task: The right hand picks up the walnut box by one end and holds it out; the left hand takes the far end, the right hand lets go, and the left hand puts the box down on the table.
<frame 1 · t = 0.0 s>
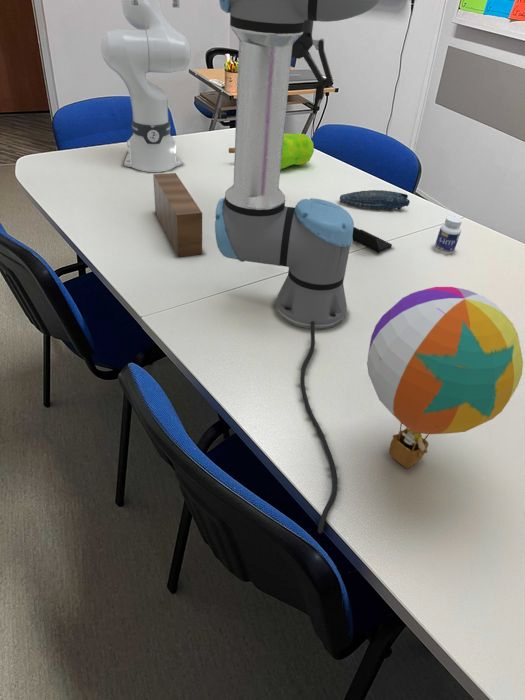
left hand: (155, 6, 121), 48 cm above the table, tool pointing down, fingers open, 8 cm apart
right hand: (288, 109, 135), 28 cm above the table, tool pointing down, fingers open, 13 cm apart
box: (177, 232, 137), on the table
toy: (404, 458, 82), on the table
decorative tree: (270, 165, 182), on the table
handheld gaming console: (365, 245, 139), on the table
fish model: (372, 206, 160), on the table
pill bottle: (443, 250, 140), on the table
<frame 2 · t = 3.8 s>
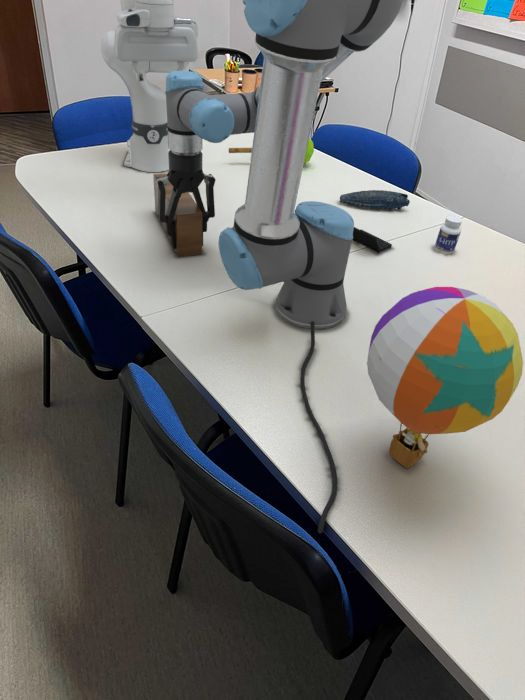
left hand: (158, 80, 132), 32 cm above the table, tool pointing down, fingers open, 8 cm apart
right hand: (187, 244, 129), 1 cm above the table, tool pointing down, fingers closed on box, 6 cm apart
box: (177, 232, 137), on the table, touching right hand
everything else where it was.
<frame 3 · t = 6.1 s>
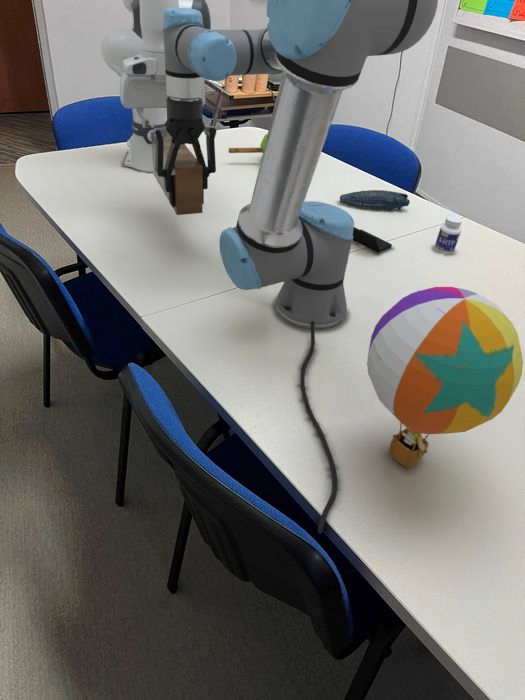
left hand: (164, 126, 129), 24 cm above the table, tool pointing down, fingers open, 8 cm apart
right hand: (186, 203, 122), 12 cm above the table, tool pointing down, fingers closed on box, 6 cm apart
box: (176, 192, 130), point 11 cm above the table, touching right hand
everything else where it was.
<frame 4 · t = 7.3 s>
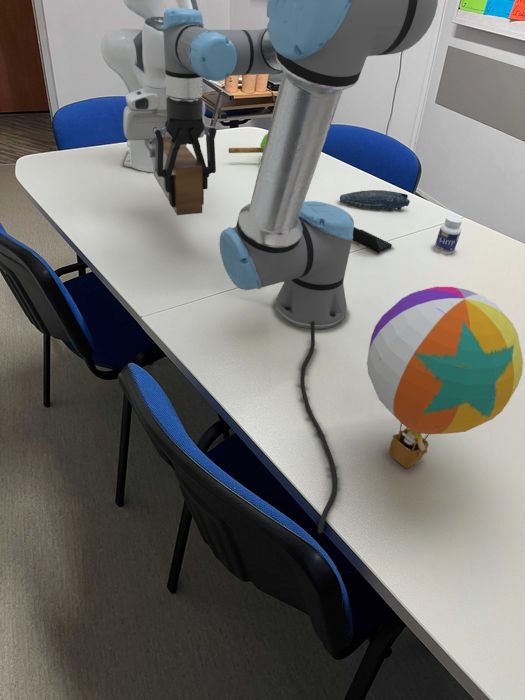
left hand: (166, 155, 134), 17 cm above the table, tool pointing down, fingers closed on box, 6 cm apart
right hand: (186, 203, 122), 12 cm above the table, tool pointing down, fingers closed on box, 6 cm apart
box: (176, 192, 130), point 11 cm above the table, touching right hand, left hand
everything else where it was.
when the right hand's fingers open (12 cm above the table, at t = 8.4 s): box stays where it is, held by the left hand.
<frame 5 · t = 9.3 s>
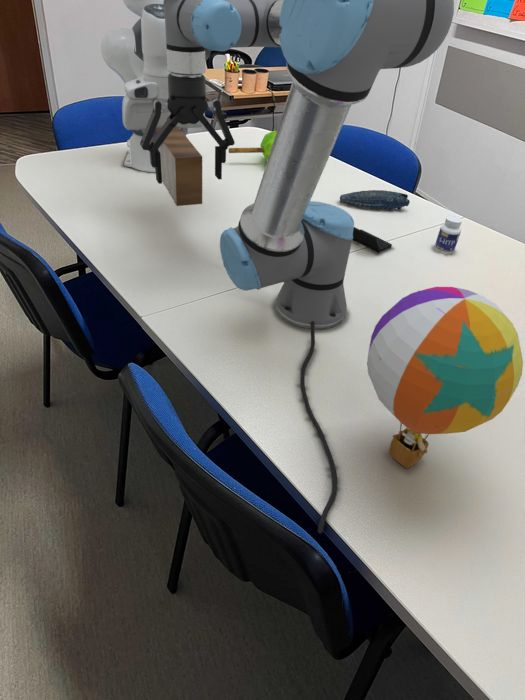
left hand: (165, 146, 132), 19 cm above the table, tool pointing down, fingers closed on box, 6 cm apart
right hand: (189, 179, 116), 19 cm above the table, tool pointing down, fingers open, 13 cm apart
box: (175, 183, 129), point 13 cm above the table, touching left hand
everything else where it was.
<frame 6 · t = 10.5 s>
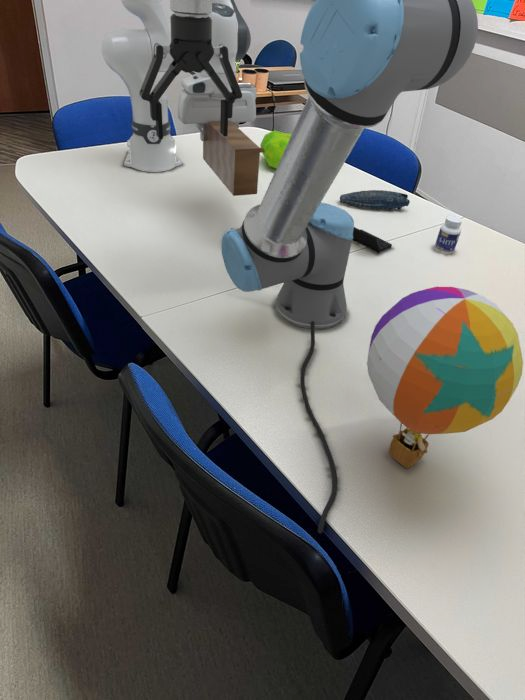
left hand: (217, 139, 138), 20 cm above the table, tool pointing down, fingers closed on box, 6 cm apart
right hand: (192, 135, 107), 29 cm above the table, tool pointing down, fingers open, 13 cm apart
box: (228, 175, 134), point 14 cm above the table, touching left hand
everything else where it was.
when the left hand's fingers open (7 cm above the table, at t = 14.0 s): box stays where it is, on the table.
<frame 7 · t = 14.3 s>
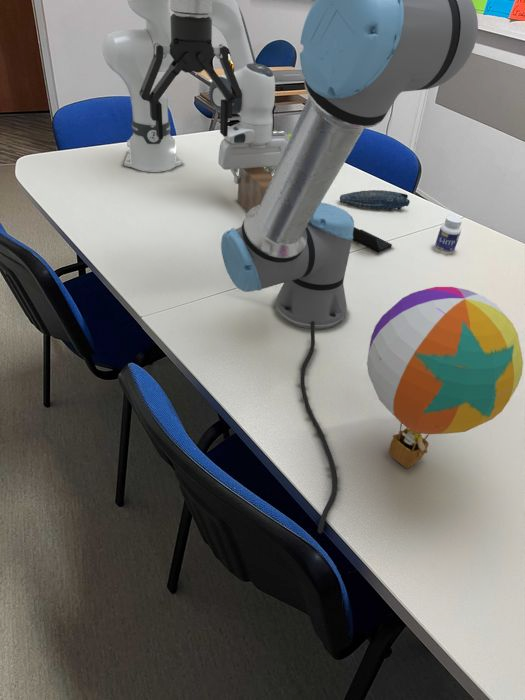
left hand: (252, 181, 150), 7 cm above the table, tool pointing down, fingers open, 8 cm apart
right hand: (192, 135, 107), 29 cm above the table, tool pointing down, fingers open, 13 cm apart
box: (263, 218, 148), on the table
everything else where it was.
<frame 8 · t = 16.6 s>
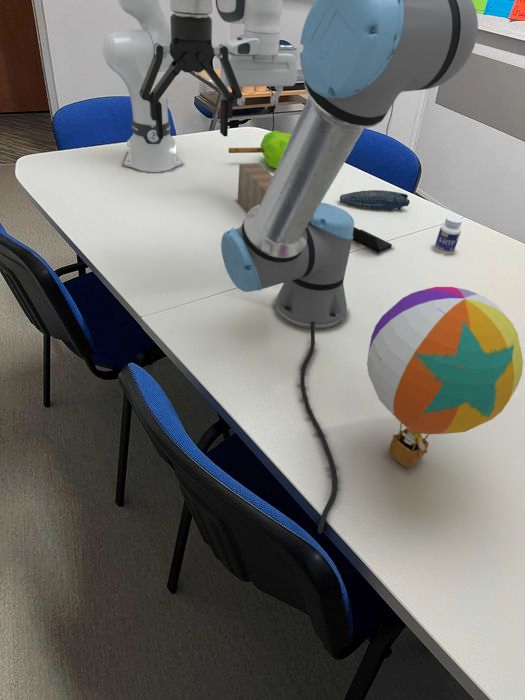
left hand: (257, 104, 137), 28 cm above the table, tool pointing down, fingers open, 8 cm apart
right hand: (192, 135, 107), 29 cm above the table, tool pointing down, fingers open, 13 cm apart
nothing on the table moved.
at the end: box inside the target area (9.7 cm from its centre), on the table; the left hand is holding nothing; the right hand is holding nothing; box at rest at the end (0.0 cm/s) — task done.
